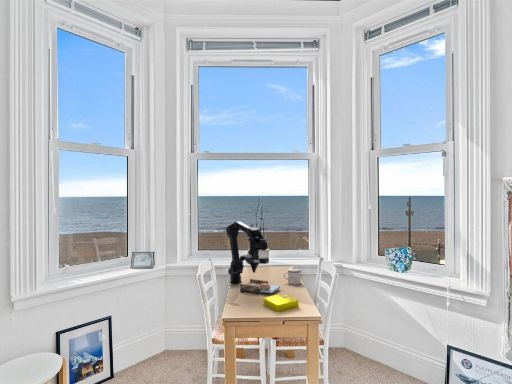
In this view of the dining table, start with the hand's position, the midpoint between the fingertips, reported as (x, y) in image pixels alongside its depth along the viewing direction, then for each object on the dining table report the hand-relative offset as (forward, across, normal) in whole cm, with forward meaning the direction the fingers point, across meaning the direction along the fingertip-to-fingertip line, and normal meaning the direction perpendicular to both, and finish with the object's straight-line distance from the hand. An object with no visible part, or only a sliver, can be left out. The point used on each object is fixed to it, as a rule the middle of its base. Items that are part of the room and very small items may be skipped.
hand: (254, 272), depth 207 cm
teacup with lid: (+11, +16, +25) cm, 32 cm away
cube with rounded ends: (+8, +10, -3) cm, 13 cm away
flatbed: (+11, 0, 0) cm, 11 cm away
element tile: (+11, +27, -20) cm, 35 cm away
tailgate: (+9, +8, 0) cm, 12 cm away
